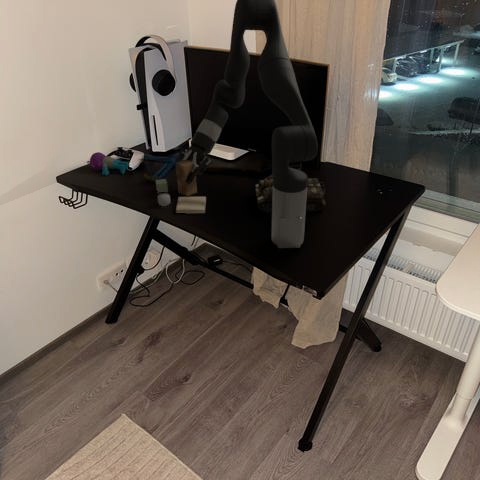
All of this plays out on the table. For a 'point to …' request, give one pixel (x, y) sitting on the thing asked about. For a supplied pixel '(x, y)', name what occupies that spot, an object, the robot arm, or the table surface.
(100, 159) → the toy
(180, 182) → the walnut post
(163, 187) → the sage cube
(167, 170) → the toy character
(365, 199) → the table surface
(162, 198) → the grey rubber puck
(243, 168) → the table surface
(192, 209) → the birch coaster
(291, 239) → the robot arm
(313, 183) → the model tank
